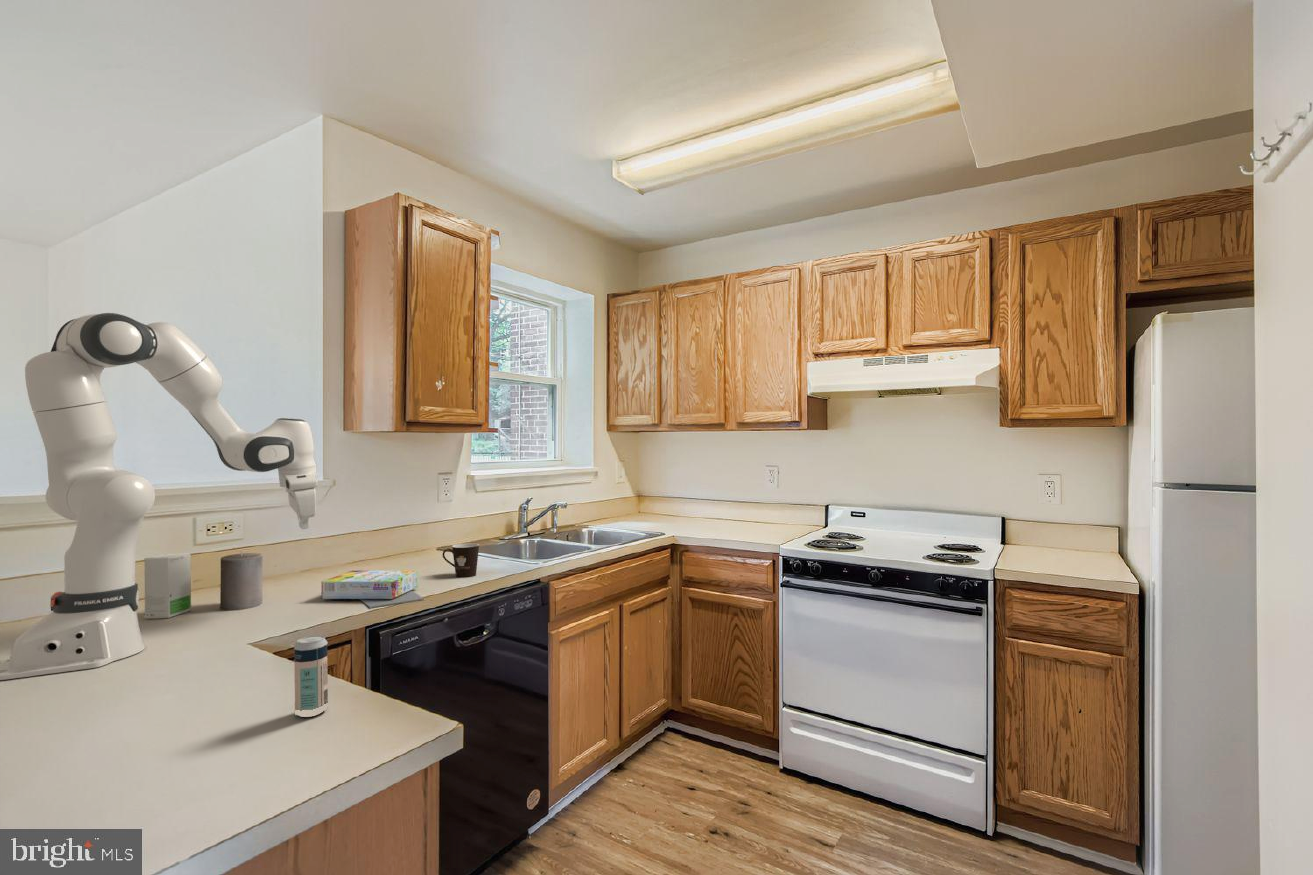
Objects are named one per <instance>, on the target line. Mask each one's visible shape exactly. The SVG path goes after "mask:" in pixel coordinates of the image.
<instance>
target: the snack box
mask: <svg viewBox="0 0 1313 875" xmlns="http://www.w3.org/2000/svg"><path fill="white" fill-rule="evenodd" d="M418 587H419V571H418V570H349V571H348V572H345V573H342V574H338V575H336V576H334V577H331V578H327V579H323V580H322V581H321V597H320V598H321V600H360V599H393V598H395V597H398V596H400V595H402V594H404V593H406V592H408V591H410V590H412V591H413V590H415V589H417V588H418Z"/></svg>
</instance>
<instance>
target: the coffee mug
mask: <svg viewBox="0 0 1313 875" xmlns="http://www.w3.org/2000/svg"><path fill="white" fill-rule="evenodd" d="M479 549H480V544H479V543H473V542H470V543H468V542H467V543H466V542H465V543H457V544H454V545H452V546H451V548H447V549H444V550H443V551H442V558H443V559H444V561H445V562H447V564H449V565H451V566H453V567H454V573H455V577H456V578H459V579H460V578H461V579H464V578H465V579H466V578H472V577H475V576H477V569H478V568H477V567H478V560H479V551H480V550H479ZM447 551H448V552H450V553H452V556H453V563H452V562H451V561H450V560H448V559H447V558H446V556H445V553H446V552H447Z"/></svg>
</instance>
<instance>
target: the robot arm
mask: <svg viewBox="0 0 1313 875" xmlns="http://www.w3.org/2000/svg"><path fill="white" fill-rule="evenodd" d="M134 363H135V364H137V365H139V366H141V367H142V368H144V369H145V370H146V371H148V372H149V373H150V374H151V376H152V377H153V378H154V379H155V380H156V382H158V384H159V385H161V387H162V388H163V389H164V390H166V392H168V394H169V395H171V396H172V397H173V398H174V399H175V400H177V402H178V403H179V404H181V405H182V407H184V408H185V409H186V410H187V411H188V412H189V413H190V415H191V416H192V417H193V418H194V420H195V421H196V422H197V423H198V425H200V427H201V428H202V429H203V430H204V431H205V432H206V433H207V435H208V436H209V437H210V438H211V440H212V442H213V443H214V446H215V447H216V451H217V453H218V457H219V459H220V461H221V462H222V464H224V466H226V467H227V468H229V469H231V470H233V471H239V472H240V471H241V472H243V471H244V472H245V471H246V472H247V471H248V472H253V473H255V472H256V473H266V472H267V473H268V472H271V471H273V470H276V469H277V470H278V471H277V472H278V482H279V487H281V488H285V492H286V493H287V495H288V503H289V507H290V508H292V510H293V511H294V512H295V513H296V516H297V520H298V525H299V528H300V529H301V530H308V529H309V528H310V527H309V518H314V517H316V514H317V493H316V492H317V491H316V488H318V486H319V485H318V484H319V483H318V482H319V480H318V471H317V470H318V469H317V464H316V461H315V459H314V452H315V443H314V437H313V433H312V429H311V426H310V424H309V423H308V422H307V421H306V420H304V419H300V418H283V417H282V418H281V417H280V418H277V419H275V420H274V422H273V423H272V424H270V425H269V426H268V427H266V428H264V429H261V430H260V431H259V432H255V433H250V432H248V431H246V430H243V429H242V428H241V427H239V426H238V425H237V424H236V422H235V421H234V420H233V419H232V417H231V416H230V414H228V412H227V411H226V409H225V408H224V407H223V406H222V405H221V403H220V400H219V394H220V392H221V390H222V388H223V377H222V376H221V374H220V372H219V371H218V369H217V367H216V365H215V364H214V363H213V362H212V360H211V359H209V357H208V356H207V355H206V354H205V352H204V351H202V350H201V348H200V347H199V346H198V345H197V344H196V343H195V341H193V340H192V339H191V338H189V337H188V336H187V335H186V334H185V333H184V332H183V331H181V330H180V329H179V328H177V327H176V326H175V325H174V324H172V323H168V322H163V321H160V322H158V321H157V322H152V323H148V324H145V323H142V322H140V321H137V320H136V319H134V318H132V317H130V316H126V315H124V314H119V313H113V312H104V313H103V312H102V313H91V314H86V315H82V316H80V317H77V318H74V319H71V320H69V321H67V322H65V323H64V324H63V325H62V326H61V327H60V329H59V330H58V331H57V333H56V336H55V339H54V342H53V345H52V347H51V349H50V351H48V352H43V353H39V354H38V355H37V354H36V355H35V356H33V357H32V358H30V359H29V360H28V361H27V362H26V364H25V367H24V377H25V385H26V387H25V388H26V390H27V396H28V401H29V405H30V407H31V410H32V413H33V417H34V419H35V422H36V425H37V428H38V431H39V435H40V436H41V437H40V438H41V439H42V443H43V445H44V446H43V447H44V449H45V451H44V452H45V454H46V455H45V457H46V464H47V465H46V466H47V479H48V487H47V489H46V491H45V492H46V493H45V501H46V504H47V505H48V508H50V509H51V511H53V512H54V513H56V514H57V515H59V516H61V517H62V518H64V519H68V520H69V521H70V520H71V521H74V522H77V523H76V529H75V532H74V536H73V538H72V542H71V544H70V546H69V548H67V550H66V551H65V554H64V591H56V592H54V593H53V594H52V595H51V596H50V604H49V605H50V606H49V607H50V611H51V613H49V614H48V615H46V616H45V617H43V618H42V619H40V620H39V621H38V622H35V624H33V625H32V626H30V627H29V628H28V629H26V630H25V631H24V632H22V633H20V635H19V636H18V637H17V638H16V639H15V640H14V642H13V644H12V647H11V651H10V655H9V659H7V660H5V661H3V662H1V663H0V681H5V680H12V679H20V678H27V677H35V676H43V675H50V674H56V673H59V674H60V673H65V672H66V673H67V672H73V671H74V672H75V671H80V670H87V669H88V670H89V669H95V668H99V667H103V666H105V665H107V664H110V663H112V662H115V661H119V660H122V659H125V658H128V657H130V656H131V657H132V656H134V655H135V654H138V653H140V652H143V651H144V650H145V649H146V647H147V646H146V644H145V641H144V640H143V635H142V634H141V633H142V632H141V630H140V624H139V623H140V622H139V618H138V611H137V610H138V609H139V604H140V602H139V601H140V598H139V597H140V596H139V595H140V592H139V591H140V590H139V584H138V583H136V552H137V551H136V549H137V544H138V539H139V535H140V531H141V528H142V524H143V521H144V519H145V516H146V515H147V513H149V511H150V510H151V509H152V507H153V505H154V504H155V499H156V492H155V488H154V486H153V485H152V484H151V482H150V481H149V480H147V479H146V478H145V477H143V476H141V475H138V474H136V473H133V472H130V471H126V470H120V469H119V470H117V469H115V466H114V446H115V443H116V441H117V432H116V430H115V426H114V423H113V419H112V417H111V414H110V410H109V408H108V404H107V401H106V398H105V395H104V393H103V390H102V387H101V376H102V372H103V370H104V369H105V368H114V367H115V368H116V367H118V366H125V365H130V364H134Z"/></svg>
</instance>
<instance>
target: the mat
mask: <svg viewBox="0 0 1313 875" xmlns="http://www.w3.org/2000/svg"><path fill="white" fill-rule="evenodd" d="M359 600H360V601H361V602H362V603H363V604H364V605H365V606H367V607H368V608H369V609H375V608H383V607H387V606H395V605H399V604H407V603H413V602H418V601H424V600H425V598H424V597H423V596H421V595H419V594H418V593H416V592H415V591H413V590H410V591H408V592H406V593H404V594H402V595H400V596H398V597H395V598H393V599H359Z"/></svg>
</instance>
